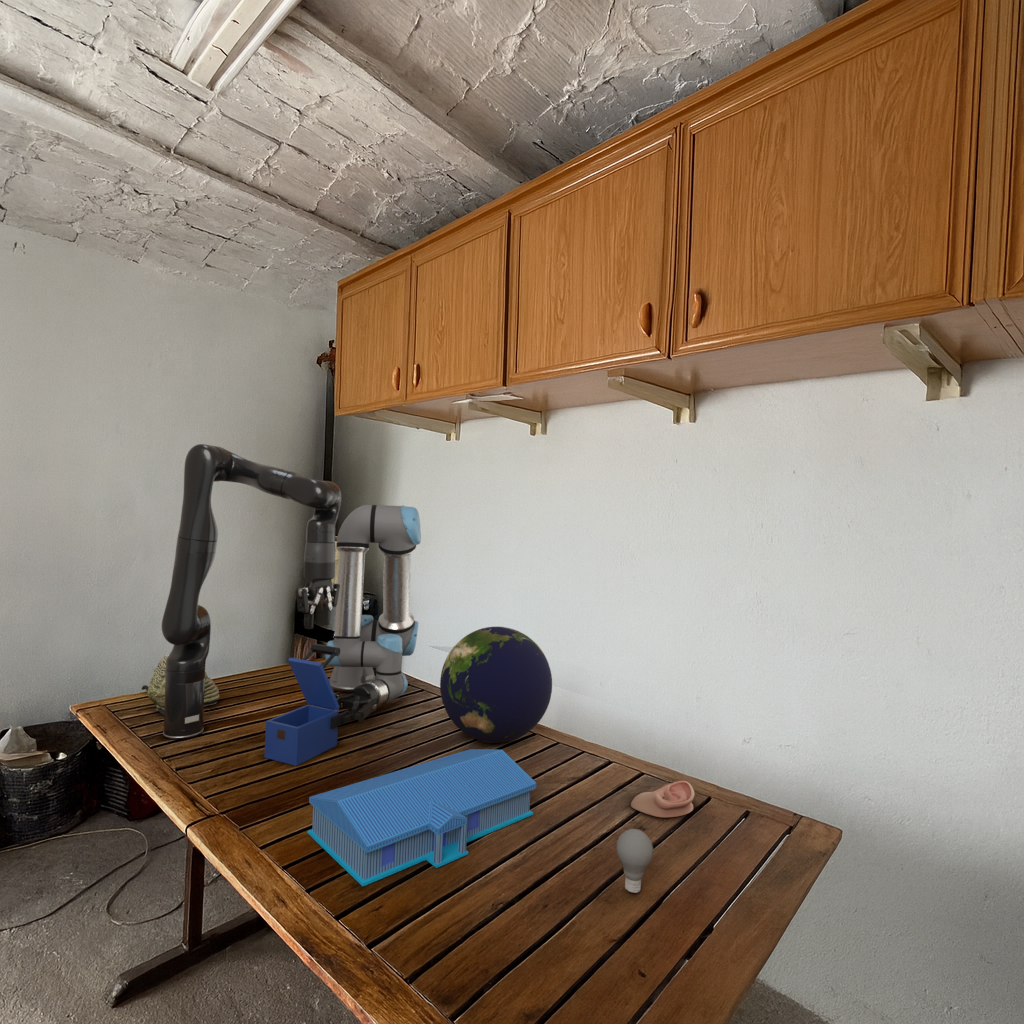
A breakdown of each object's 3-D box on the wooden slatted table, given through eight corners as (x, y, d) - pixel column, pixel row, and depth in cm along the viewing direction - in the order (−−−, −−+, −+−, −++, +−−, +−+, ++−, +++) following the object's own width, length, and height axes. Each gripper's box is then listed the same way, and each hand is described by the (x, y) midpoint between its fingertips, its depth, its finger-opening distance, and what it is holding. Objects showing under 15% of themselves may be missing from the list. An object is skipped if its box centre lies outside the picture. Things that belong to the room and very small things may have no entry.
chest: (296, 766, 148) (297, 728, 148) (264, 757, 152) (265, 721, 152) (337, 745, 162) (338, 710, 161) (307, 737, 165) (308, 704, 165)
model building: (372, 896, 101) (375, 834, 101) (306, 832, 119) (308, 779, 119) (545, 820, 127) (547, 771, 127) (469, 777, 146) (471, 734, 145)
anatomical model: (631, 794, 132) (632, 772, 143) (630, 813, 132) (631, 789, 143) (697, 803, 129) (693, 779, 140) (696, 822, 129) (692, 797, 141)
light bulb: (610, 879, 108) (613, 822, 108) (644, 879, 109) (647, 822, 109) (619, 902, 102) (622, 840, 102) (655, 901, 103) (658, 840, 103)
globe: (416, 747, 162) (421, 630, 161) (468, 713, 189) (472, 613, 189) (525, 771, 150) (531, 645, 150) (563, 731, 178) (568, 624, 177)
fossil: (144, 707, 182) (145, 655, 182) (212, 696, 194) (213, 647, 194) (151, 716, 175) (153, 662, 175) (221, 703, 188) (223, 653, 188)
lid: (319, 665, 154) (340, 641, 161) (287, 660, 158) (309, 636, 165) (337, 710, 161) (357, 684, 168) (307, 703, 165) (327, 679, 172)
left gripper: (312, 563, 151) (309, 633, 151) (350, 559, 164) (347, 623, 165) (287, 560, 154) (284, 629, 154) (326, 556, 167) (324, 620, 168)
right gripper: (401, 716, 177) (350, 742, 156) (336, 702, 186) (280, 726, 165) (402, 689, 177) (351, 712, 156) (337, 677, 186) (281, 697, 165)
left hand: (317, 626), depth 160 cm, fingers open, 5 cm apart
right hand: (315, 719), depth 161 cm, fingers closed on chest, 10 cm apart
